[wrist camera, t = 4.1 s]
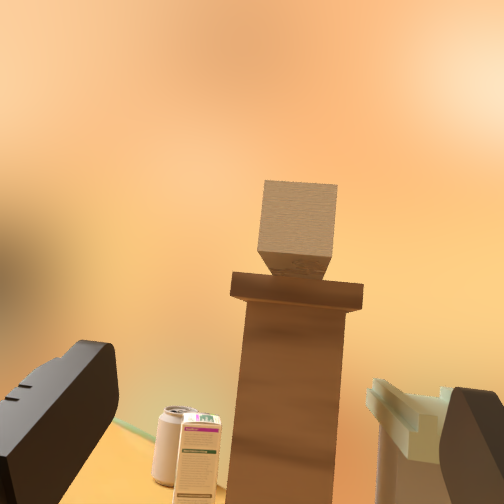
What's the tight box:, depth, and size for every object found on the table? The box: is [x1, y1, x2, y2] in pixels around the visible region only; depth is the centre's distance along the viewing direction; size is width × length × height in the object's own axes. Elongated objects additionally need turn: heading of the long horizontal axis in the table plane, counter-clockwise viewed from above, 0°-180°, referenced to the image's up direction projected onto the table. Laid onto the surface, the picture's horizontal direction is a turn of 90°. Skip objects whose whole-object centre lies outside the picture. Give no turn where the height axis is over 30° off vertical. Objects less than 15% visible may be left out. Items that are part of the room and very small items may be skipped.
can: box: [151, 406, 198, 487], centre depth 74 cm, size 8×8×12 cm
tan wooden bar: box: [257, 180, 337, 280], centre depth 29 cm, size 24×3×3 cm, turn 173°
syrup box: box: [172, 413, 222, 504], centre depth 60 cm, size 6×6×14 cm
